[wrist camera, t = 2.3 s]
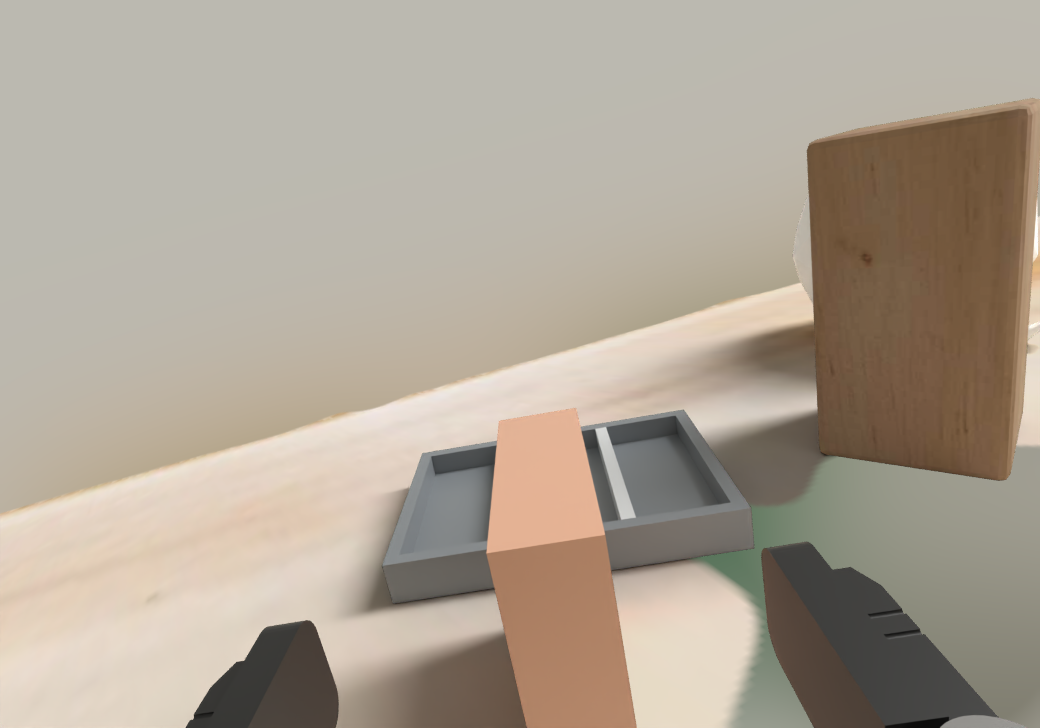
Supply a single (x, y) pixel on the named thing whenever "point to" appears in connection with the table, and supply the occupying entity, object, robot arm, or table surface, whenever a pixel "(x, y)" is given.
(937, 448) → the wooden block
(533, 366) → the table surface
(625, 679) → the tan brick
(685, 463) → the tray
